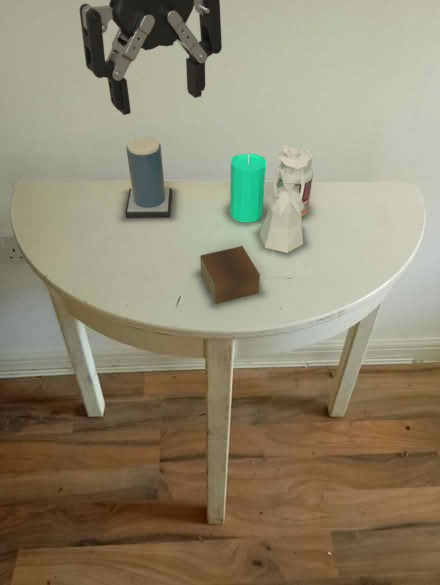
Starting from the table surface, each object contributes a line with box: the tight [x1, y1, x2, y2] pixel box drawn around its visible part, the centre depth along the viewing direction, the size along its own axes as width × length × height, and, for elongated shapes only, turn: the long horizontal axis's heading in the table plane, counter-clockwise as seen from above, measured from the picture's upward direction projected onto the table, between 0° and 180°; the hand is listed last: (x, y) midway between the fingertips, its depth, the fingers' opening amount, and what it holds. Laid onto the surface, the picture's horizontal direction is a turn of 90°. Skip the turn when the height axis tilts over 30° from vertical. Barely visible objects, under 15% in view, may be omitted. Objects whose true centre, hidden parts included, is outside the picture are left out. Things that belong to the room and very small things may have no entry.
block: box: [199, 245, 261, 305], centre depth 77 cm, size 7×7×4 cm
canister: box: [125, 135, 166, 208], centre depth 88 cm, size 6×6×11 cm
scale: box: [124, 187, 173, 219], centre depth 93 cm, size 8×8×1 cm
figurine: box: [259, 143, 308, 254], centre depth 80 cm, size 7×8×18 cm
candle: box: [229, 152, 267, 223], centre depth 87 cm, size 6×6×12 cm
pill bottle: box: [277, 146, 314, 217], centre depth 88 cm, size 6×6×11 cm
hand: (160, 103), depth 55 cm, fingers open, 8 cm apart
